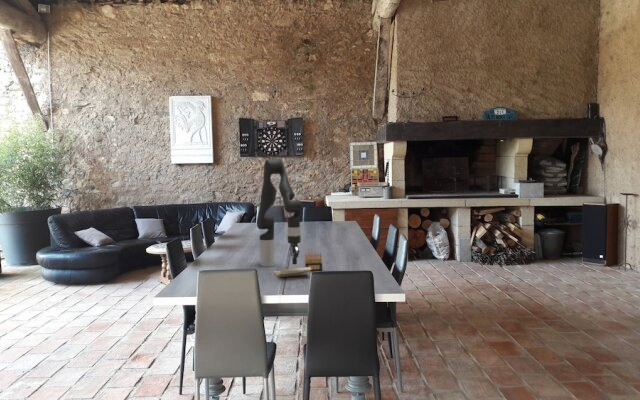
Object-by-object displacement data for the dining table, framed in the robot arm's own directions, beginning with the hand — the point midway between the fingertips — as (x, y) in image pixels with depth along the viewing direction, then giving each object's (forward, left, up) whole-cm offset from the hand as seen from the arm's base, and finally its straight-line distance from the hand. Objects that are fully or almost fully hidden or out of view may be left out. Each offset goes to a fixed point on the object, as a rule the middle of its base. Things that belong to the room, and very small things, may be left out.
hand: (294, 264), depth 293 cm
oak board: (-11, 0, -8) cm, 14 cm away
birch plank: (-1, 0, -6) cm, 6 cm away
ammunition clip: (-14, +16, -9) cm, 23 cm away
